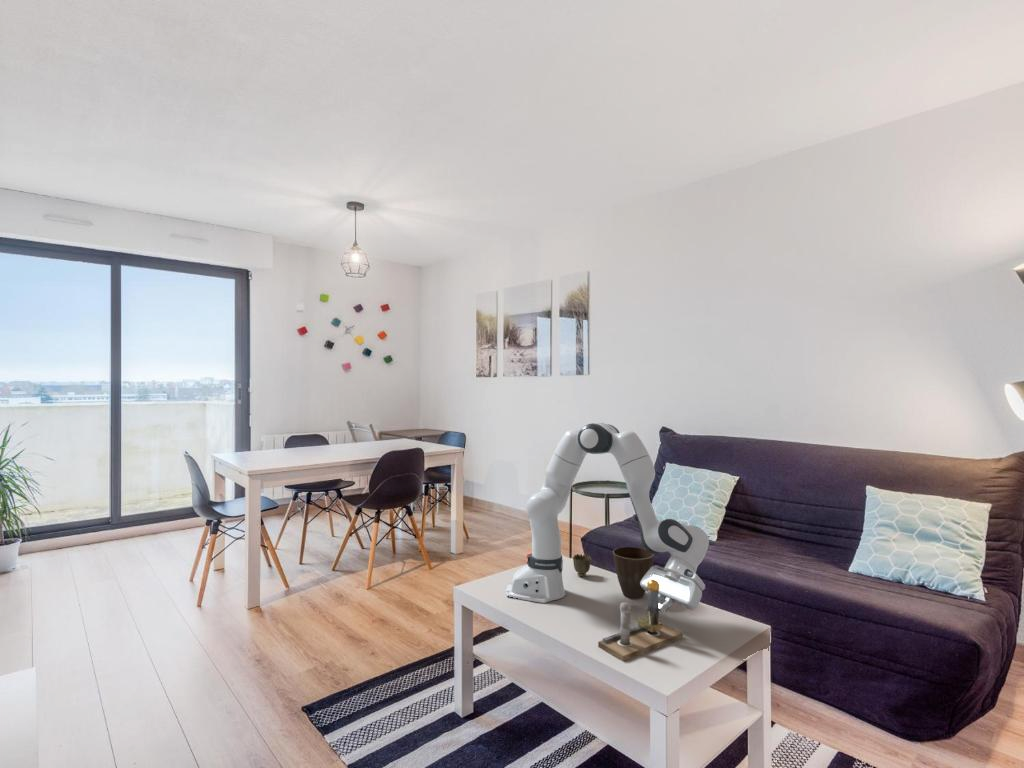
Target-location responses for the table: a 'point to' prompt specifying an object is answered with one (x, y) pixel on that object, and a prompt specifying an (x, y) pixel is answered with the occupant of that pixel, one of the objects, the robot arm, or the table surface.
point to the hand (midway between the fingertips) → (658, 610)
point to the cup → (581, 564)
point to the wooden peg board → (636, 638)
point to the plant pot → (632, 569)
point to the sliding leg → (652, 608)
